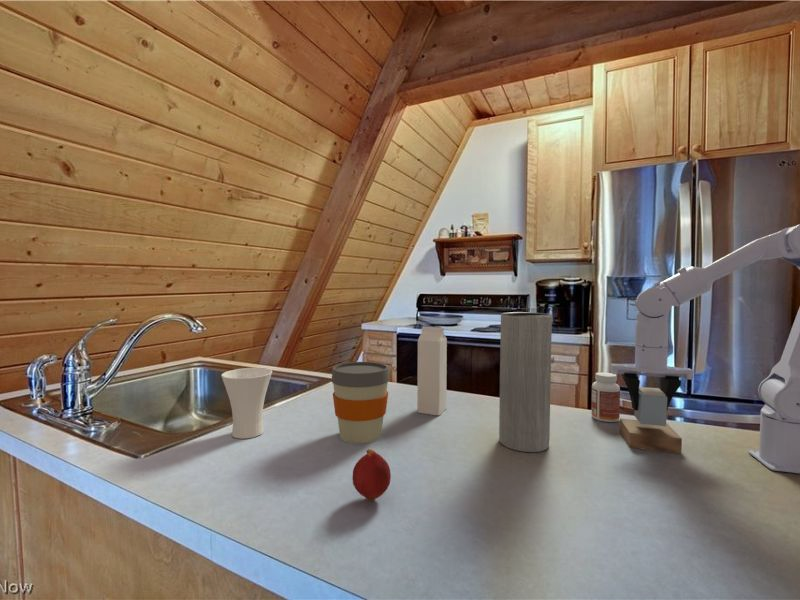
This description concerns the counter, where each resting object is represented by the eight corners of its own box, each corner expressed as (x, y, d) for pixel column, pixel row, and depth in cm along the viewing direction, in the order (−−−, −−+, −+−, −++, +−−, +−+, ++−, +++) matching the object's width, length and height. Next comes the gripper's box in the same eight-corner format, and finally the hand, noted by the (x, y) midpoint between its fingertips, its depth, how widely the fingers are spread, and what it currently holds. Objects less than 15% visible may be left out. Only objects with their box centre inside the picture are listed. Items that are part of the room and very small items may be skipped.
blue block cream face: (658, 417, 83) (660, 388, 83) (665, 426, 79) (667, 394, 78) (634, 415, 85) (635, 386, 84) (640, 423, 80) (641, 392, 80)
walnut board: (665, 436, 85) (666, 422, 85) (681, 453, 77) (681, 438, 77) (619, 431, 88) (619, 418, 88) (629, 447, 80) (629, 432, 79)
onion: (371, 486, 64) (371, 438, 64) (398, 498, 60) (398, 447, 60) (344, 501, 60) (344, 449, 59) (372, 515, 56) (372, 460, 56)
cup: (274, 438, 83) (274, 376, 83) (220, 446, 79) (219, 380, 79) (271, 422, 93) (270, 366, 93) (223, 428, 89) (222, 369, 89)
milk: (425, 406, 106) (425, 325, 105) (446, 409, 103) (447, 326, 103) (416, 412, 100) (417, 327, 100) (439, 416, 98) (440, 328, 97)
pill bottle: (624, 419, 96) (625, 375, 95) (611, 424, 92) (612, 378, 92) (599, 412, 101) (600, 370, 100) (586, 417, 97) (587, 373, 97)
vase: (531, 457, 75) (534, 316, 73) (489, 441, 82) (491, 313, 81) (558, 444, 81) (561, 314, 80) (516, 430, 89) (518, 311, 88)
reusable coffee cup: (321, 443, 81) (321, 371, 80) (344, 422, 93) (344, 360, 92) (379, 449, 78) (380, 375, 77) (395, 427, 90) (395, 363, 89)
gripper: (684, 344, 83) (682, 407, 84) (608, 341, 88) (607, 401, 88) (698, 350, 76) (695, 418, 77) (615, 346, 81) (613, 410, 81)
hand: (649, 410), depth 82 cm, fingers closed on blue block cream face, 5 cm apart
